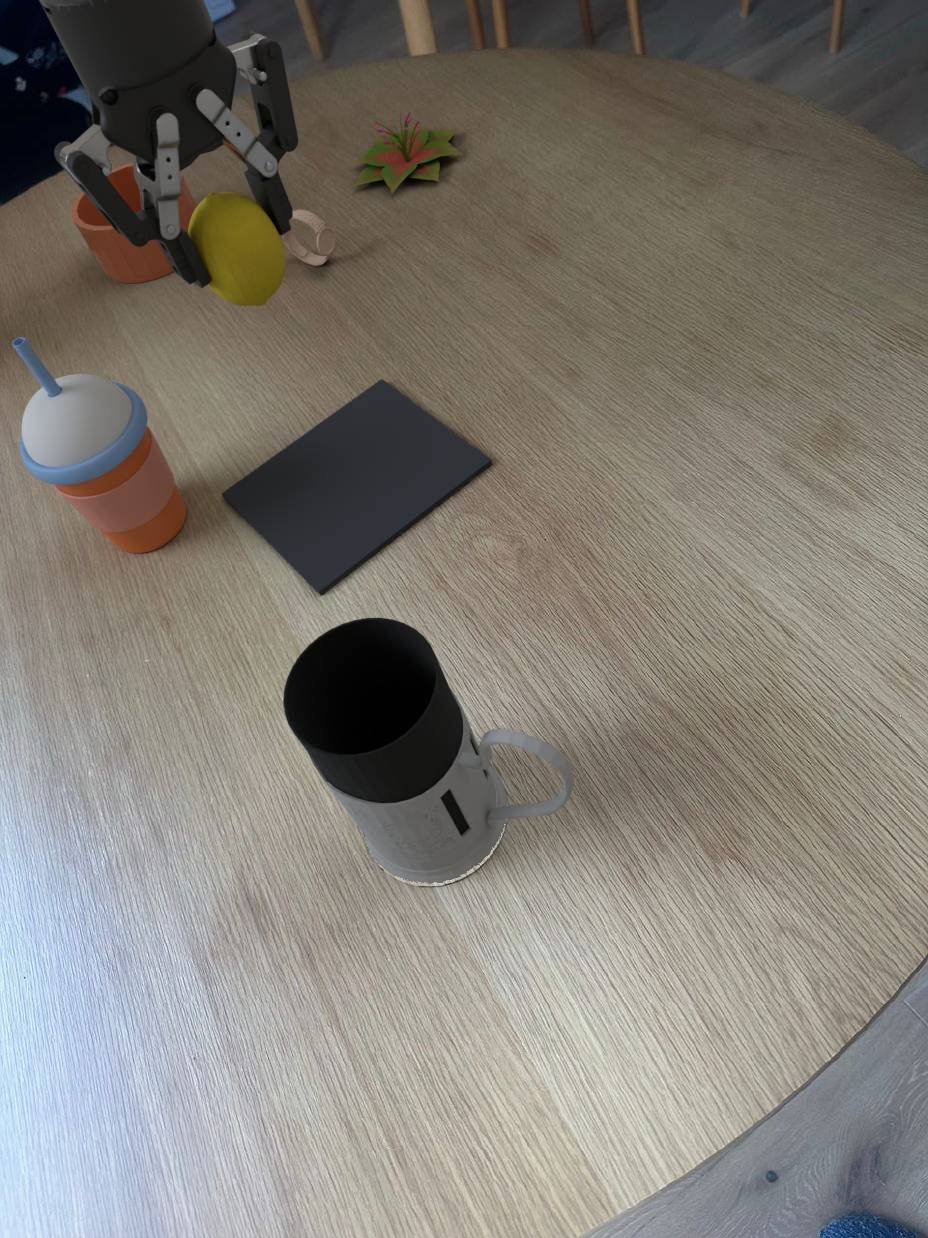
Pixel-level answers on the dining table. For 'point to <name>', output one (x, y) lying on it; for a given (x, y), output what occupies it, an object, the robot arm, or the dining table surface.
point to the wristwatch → (324, 239)
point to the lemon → (238, 248)
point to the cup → (114, 248)
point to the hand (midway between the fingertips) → (239, 253)
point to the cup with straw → (100, 456)
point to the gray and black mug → (405, 750)
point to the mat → (354, 484)
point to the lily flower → (405, 154)
